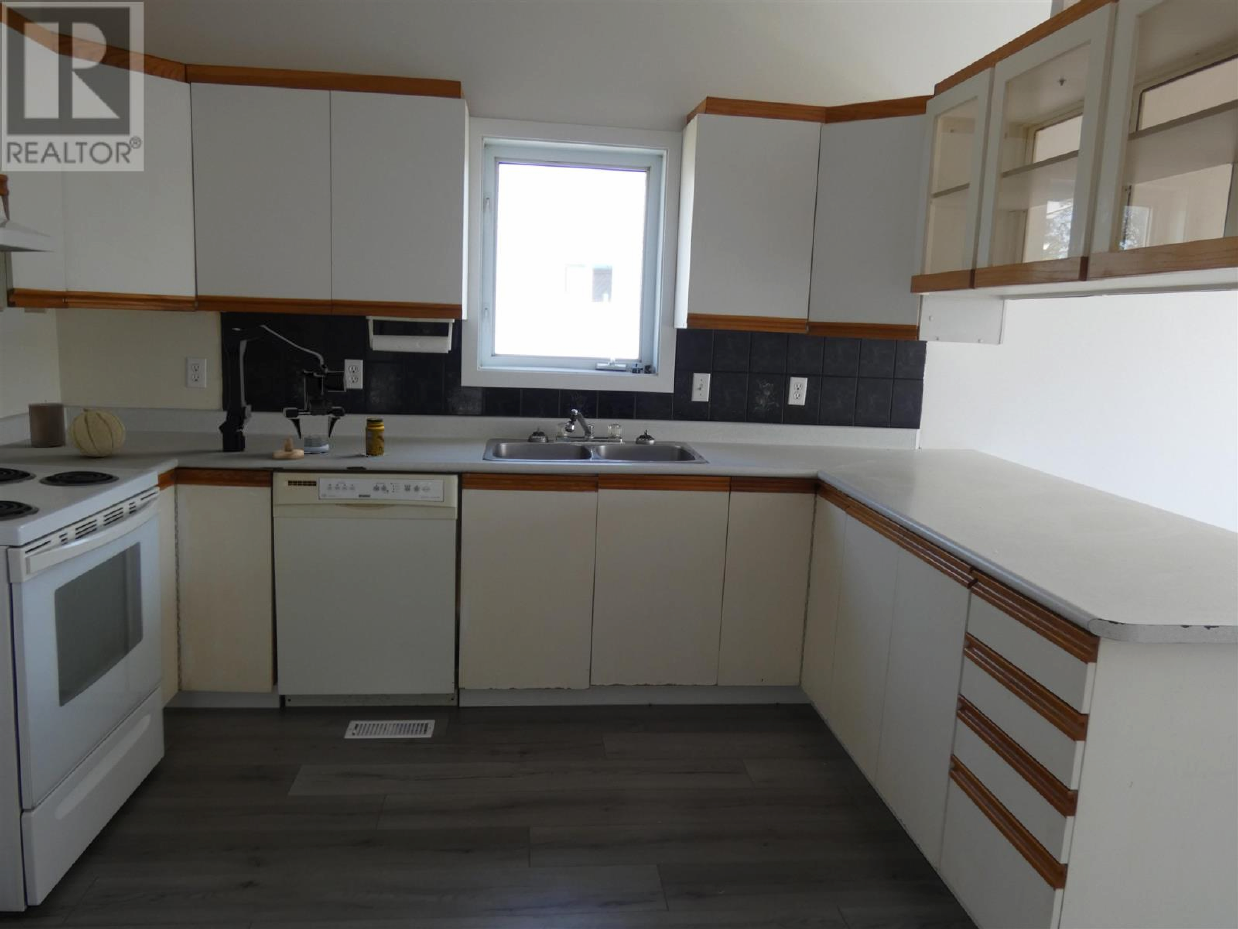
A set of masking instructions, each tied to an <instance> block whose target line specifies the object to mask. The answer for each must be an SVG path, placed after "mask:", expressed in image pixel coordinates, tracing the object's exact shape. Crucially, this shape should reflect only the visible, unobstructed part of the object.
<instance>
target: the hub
mask: <svg viewBox="0 0 1238 929" xmlns="http://www.w3.org/2000/svg"><path fill="white" fill-rule="evenodd" d="M311 437H318V436H311ZM329 446H330V445H329V444H328V443H326V446H323V447H304V446H303V444H300V445H299V450H303V451H304V452H310V453H317V454H322V453H321V452H326V453H329V452H330V447H329ZM310 453H309V454H310Z"/></svg>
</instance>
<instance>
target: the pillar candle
mask: <svg viewBox="0 0 1238 929" xmlns="http://www.w3.org/2000/svg"><path fill="white" fill-rule="evenodd" d="M27 405H28V417H29V420H28V421H29V433H30V434H29V435H30V445H31V447H33V448H51V447H50V446H57V447H61V446H60V445H64V446H66V445H67V438H66V437H67V436H66V424H65V423H66V422H65V409H64V408H65V406H64V403H62V402H47V399H45V402H37V403H36V402H35V403H28V404H27Z"/></svg>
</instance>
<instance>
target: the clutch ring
mask: <svg viewBox="0 0 1238 929" xmlns="http://www.w3.org/2000/svg"><path fill="white" fill-rule="evenodd" d="M311 436H318V437H311ZM301 440H302V445H303V446H304V447H323V446H326V444H327V436H325V435H320V434H317V435H315V434H313V435H311V434H310V435H303V436H302V435H301Z"/></svg>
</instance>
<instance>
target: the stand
mask: <svg viewBox="0 0 1238 929" xmlns="http://www.w3.org/2000/svg"><path fill="white" fill-rule="evenodd" d="M283 441H284V444H283V445H284V449H276V450H273V459H274V460H283V461H284V460H285V461H286V460H287V461H288V460H301V459H303V458H302V457H305V456H304V455H305V453H304V451H303V450H300V449H297V448H294V447H293V446H294V445H293V438H292V437H291V438H290V437H285V438H284V439H283Z"/></svg>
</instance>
